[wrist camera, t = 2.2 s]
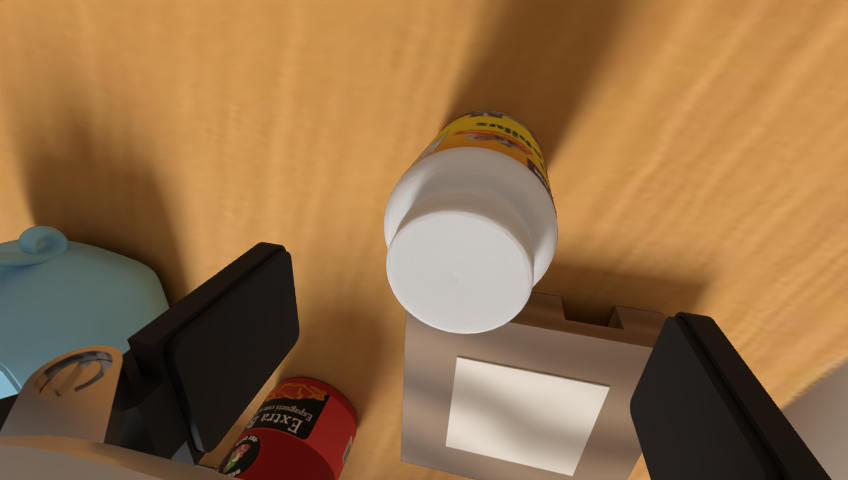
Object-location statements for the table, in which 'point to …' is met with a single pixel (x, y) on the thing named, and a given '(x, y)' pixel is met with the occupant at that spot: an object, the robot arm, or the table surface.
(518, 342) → the pallet dock
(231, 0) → the table surface
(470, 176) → the supplement bottle
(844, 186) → the table surface
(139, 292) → the teapot
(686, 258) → the table surface
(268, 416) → the canned food
